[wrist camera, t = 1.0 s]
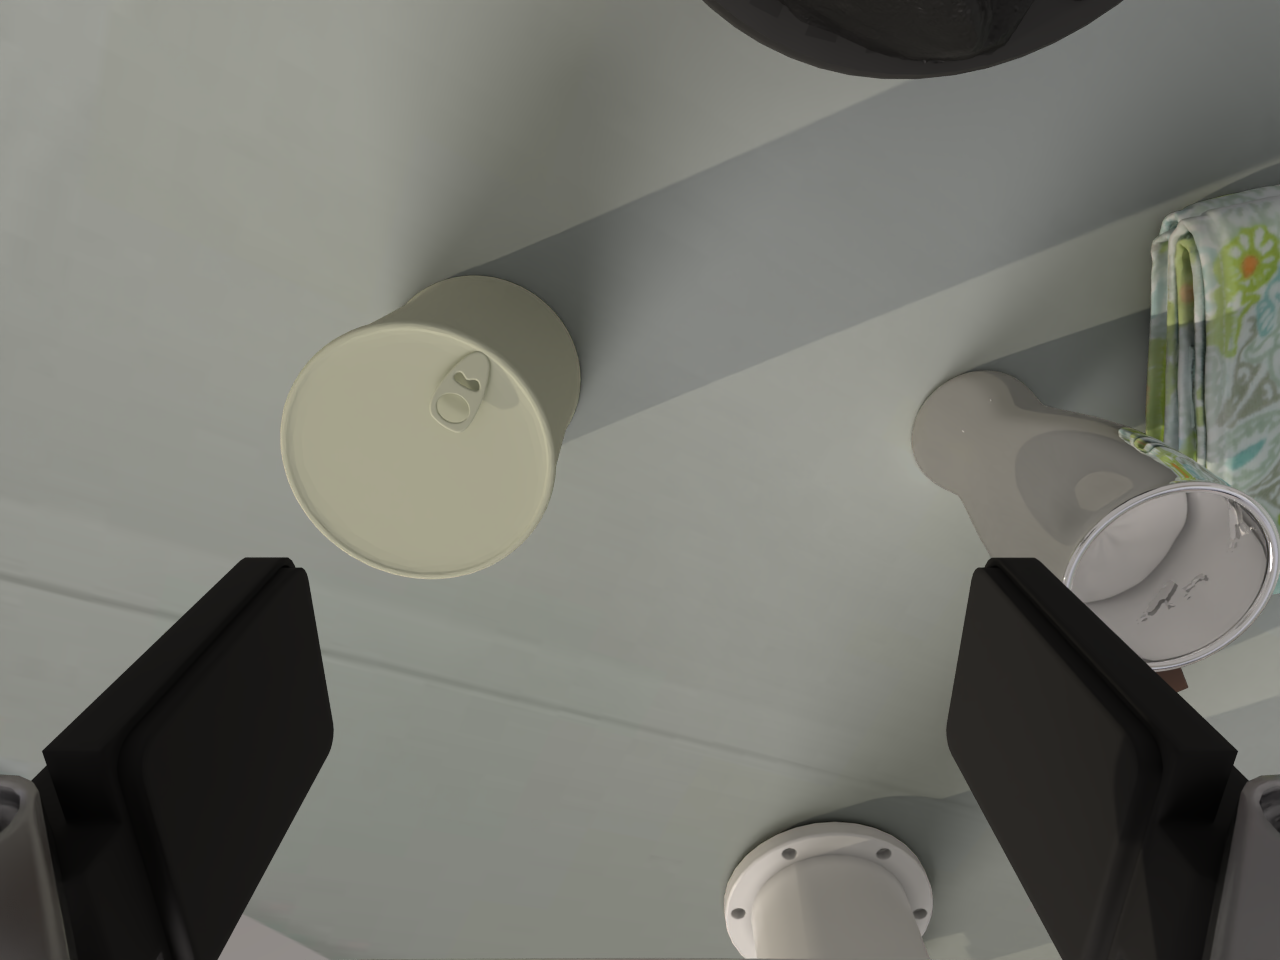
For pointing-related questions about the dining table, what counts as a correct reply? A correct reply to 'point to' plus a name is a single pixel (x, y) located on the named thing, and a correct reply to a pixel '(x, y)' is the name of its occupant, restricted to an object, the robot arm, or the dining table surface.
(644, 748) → the dining table surface
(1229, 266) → the towel
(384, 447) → the can
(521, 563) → the dining table surface
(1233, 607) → the beer glass
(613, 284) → the dining table surface
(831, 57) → the coal bowl
